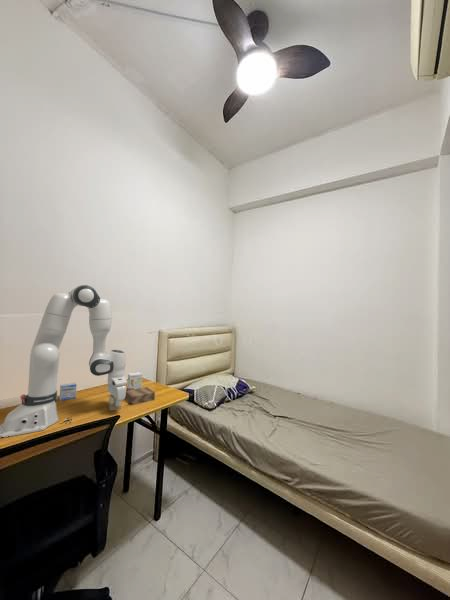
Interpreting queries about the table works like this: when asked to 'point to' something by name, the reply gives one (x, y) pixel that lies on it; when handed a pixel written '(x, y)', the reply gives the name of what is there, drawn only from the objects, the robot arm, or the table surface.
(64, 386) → the medicine box
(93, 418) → the table surface
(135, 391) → the walnut block
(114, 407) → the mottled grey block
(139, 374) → the ink box
